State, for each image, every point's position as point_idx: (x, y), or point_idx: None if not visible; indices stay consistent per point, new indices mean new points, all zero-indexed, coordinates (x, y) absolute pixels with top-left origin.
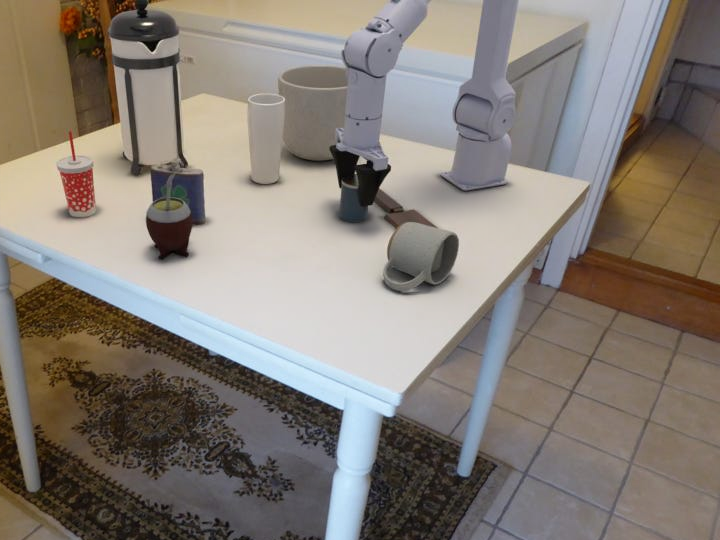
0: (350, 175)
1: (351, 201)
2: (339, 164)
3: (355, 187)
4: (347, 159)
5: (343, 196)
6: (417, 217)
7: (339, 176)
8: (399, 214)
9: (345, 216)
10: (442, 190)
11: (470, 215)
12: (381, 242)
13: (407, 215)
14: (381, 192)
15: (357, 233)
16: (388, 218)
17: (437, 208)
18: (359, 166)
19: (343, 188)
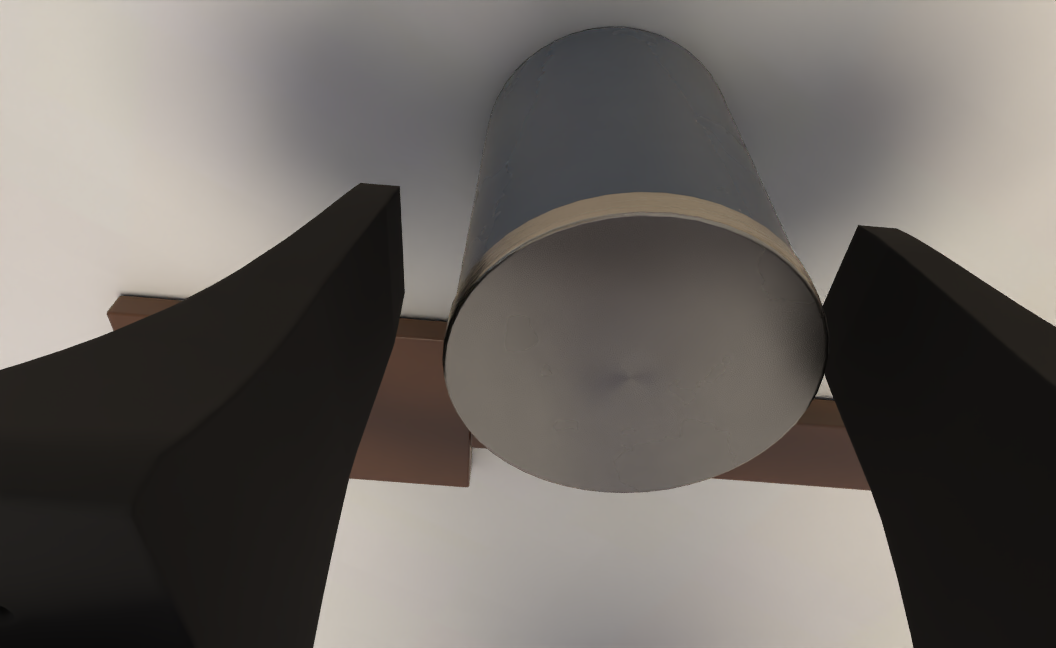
0: (795, 387)
1: (513, 156)
2: (1041, 409)
3: (474, 273)
4: (999, 547)
5: (622, 123)
6: (359, 454)
7: (938, 292)
8: (434, 404)
9: (560, 55)
10: (634, 644)
11: (354, 607)
12: (96, 103)
13: (405, 429)
14: (753, 468)
15: (292, 7)
16: (424, 331)
17: (474, 560)
18: (34, 550)
19: (644, 169)
